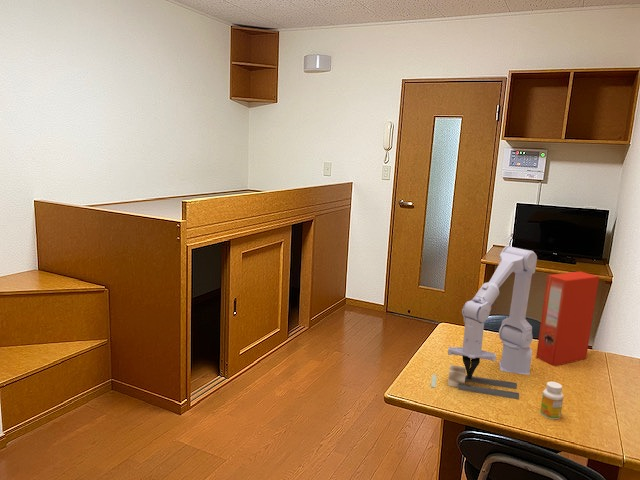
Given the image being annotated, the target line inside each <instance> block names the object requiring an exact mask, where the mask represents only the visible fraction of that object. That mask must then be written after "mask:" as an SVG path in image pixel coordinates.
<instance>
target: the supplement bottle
mask: <svg viewBox="0 0 640 480" xmlns="http://www.w3.org/2000/svg"><path fill="white" fill-rule="evenodd" d="M562 389H563V385H562V384H561V383H559V382H555V381H547V382H546V388H545V389H544V390H543V391H542V398H541V404H540V414H541V416H543V417H545V418H547V419H551V420H559V419H560V418H561V416H562V410H563V403H564V402H563V401H564V393H563V392H562Z"/></svg>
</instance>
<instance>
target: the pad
mask: <svg viewBox="0 0 640 480" xmlns="http://www.w3.org/2000/svg"><path fill="white" fill-rule="evenodd" d="M430 383H431V384H430V388H434V389H436V386H437V374H433V373H432V376H431V382H430Z"/></svg>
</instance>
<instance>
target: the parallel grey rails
mask: <svg viewBox="0 0 640 480" xmlns="http://www.w3.org/2000/svg"><path fill="white" fill-rule="evenodd" d="M465 382H469V383H474V384H482V385H488V386H495V387H500V388H501V387H502V388H508V389H514V390H517V387H518V383H517V382H513V381H506V380H498V379H493V378H488V377H479V376H473V375H472V378H471V380H470V379H467V374H466V375H465ZM457 388H458V390H459V391H463V392H464V391H466V392H471V393H475V394H476V393H477V394H484V395H489V396H495V397H503V398H509V399H514V400H519V399H520V392H516V391H511V390H510V391H509V390H503V389H496V388H490V387H483V386H478V385H471V384H466V383H465V384H459V386H458V387H457Z"/></svg>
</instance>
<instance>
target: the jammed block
mask: <svg viewBox="0 0 640 480" xmlns="http://www.w3.org/2000/svg"><path fill="white" fill-rule="evenodd" d="M465 375H467V372H466V368H465V366H459V365H454V364H449V371H448V380H447V386H448V387H454V388H458V386H459V384H466V381H465Z"/></svg>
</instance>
